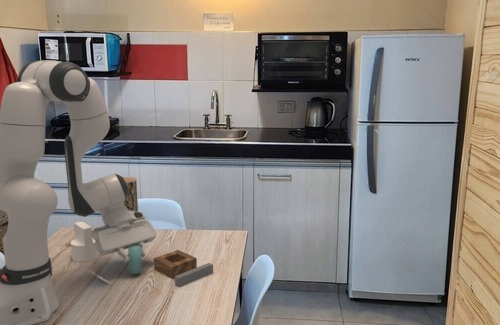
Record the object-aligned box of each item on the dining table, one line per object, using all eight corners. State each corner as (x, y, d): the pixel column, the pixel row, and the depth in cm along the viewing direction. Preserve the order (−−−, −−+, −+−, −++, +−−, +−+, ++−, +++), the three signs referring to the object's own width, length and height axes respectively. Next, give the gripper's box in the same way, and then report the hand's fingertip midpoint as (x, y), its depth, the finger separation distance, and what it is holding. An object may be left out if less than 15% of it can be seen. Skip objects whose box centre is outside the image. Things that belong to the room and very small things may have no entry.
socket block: (172, 278, 150) (172, 267, 149) (154, 269, 156) (153, 258, 156) (196, 269, 157) (196, 258, 156) (178, 260, 163) (178, 249, 163)
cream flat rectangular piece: (179, 290, 144) (178, 278, 143) (142, 270, 158) (142, 259, 157) (213, 275, 154) (213, 264, 153) (176, 258, 168) (175, 248, 167)
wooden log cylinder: (134, 244, 181) (131, 181, 176) (118, 243, 182) (114, 180, 177) (142, 238, 187) (139, 177, 182) (126, 236, 189) (123, 176, 183)
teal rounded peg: (133, 274, 149) (132, 250, 148) (126, 270, 152) (125, 247, 150) (144, 270, 152) (143, 247, 151) (137, 267, 155) (136, 244, 153)
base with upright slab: (68, 256, 170) (65, 224, 167) (92, 249, 176) (89, 219, 173) (77, 264, 163) (75, 231, 161) (102, 257, 169) (100, 225, 167)
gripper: (92, 224, 146) (110, 262, 141) (148, 211, 161) (165, 245, 156) (86, 234, 150) (103, 272, 145) (141, 220, 165) (158, 254, 160)
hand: (136, 258), depth 151 cm, fingers closed on teal rounded peg, 4 cm apart
